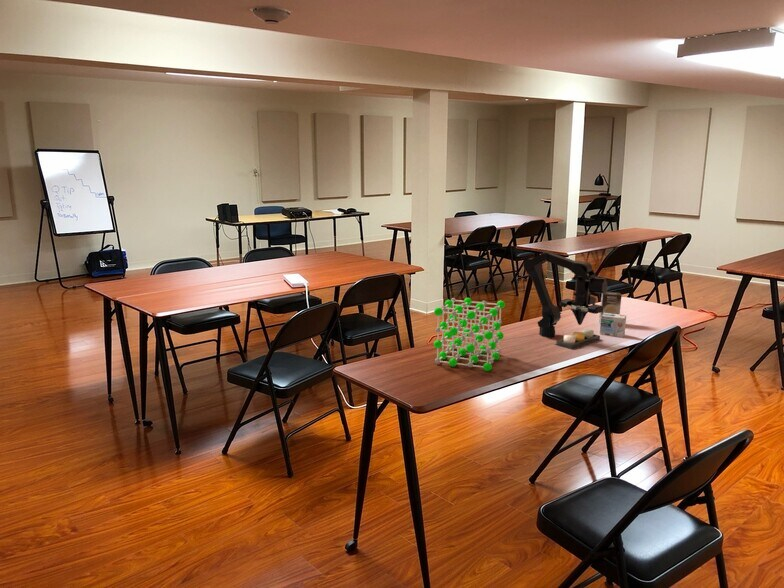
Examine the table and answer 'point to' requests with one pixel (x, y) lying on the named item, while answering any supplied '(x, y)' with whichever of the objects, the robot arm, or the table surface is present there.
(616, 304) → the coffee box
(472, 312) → the molecular structure model
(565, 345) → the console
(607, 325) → the light bulb box
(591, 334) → the sage button
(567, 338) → the ivory button
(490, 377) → the table surface
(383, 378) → the table surface
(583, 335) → the amber button
